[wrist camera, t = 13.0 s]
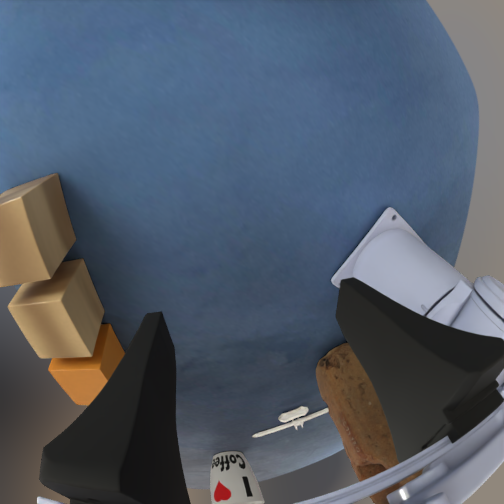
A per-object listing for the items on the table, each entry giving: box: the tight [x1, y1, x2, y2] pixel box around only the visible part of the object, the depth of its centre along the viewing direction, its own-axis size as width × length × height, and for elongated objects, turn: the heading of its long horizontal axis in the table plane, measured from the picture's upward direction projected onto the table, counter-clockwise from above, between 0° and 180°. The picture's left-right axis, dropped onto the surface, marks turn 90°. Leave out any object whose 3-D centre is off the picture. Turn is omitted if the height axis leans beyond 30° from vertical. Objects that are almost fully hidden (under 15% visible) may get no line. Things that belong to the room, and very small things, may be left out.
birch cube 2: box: [8, 259, 105, 358], centre depth 17 cm, size 5×5×5 cm
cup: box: [210, 451, 264, 504], centre depth 35 cm, size 8×8×10 cm
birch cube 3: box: [0, 173, 76, 287], centre depth 14 cm, size 5×5×5 cm
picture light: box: [252, 406, 329, 437], centre depth 34 cm, size 14×4×2 cm, turn 109°
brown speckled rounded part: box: [316, 343, 423, 504], centre depth 21 cm, size 11×8×20 cm
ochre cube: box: [48, 324, 125, 405], centre depth 20 cm, size 5×5×5 cm
